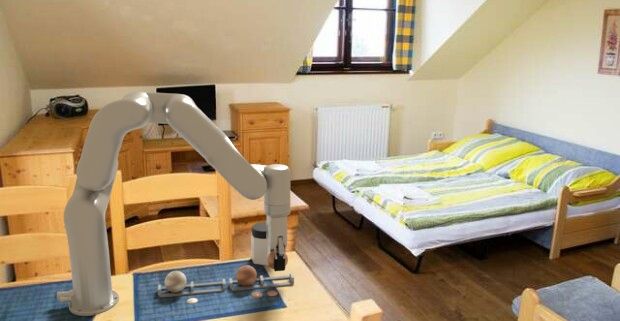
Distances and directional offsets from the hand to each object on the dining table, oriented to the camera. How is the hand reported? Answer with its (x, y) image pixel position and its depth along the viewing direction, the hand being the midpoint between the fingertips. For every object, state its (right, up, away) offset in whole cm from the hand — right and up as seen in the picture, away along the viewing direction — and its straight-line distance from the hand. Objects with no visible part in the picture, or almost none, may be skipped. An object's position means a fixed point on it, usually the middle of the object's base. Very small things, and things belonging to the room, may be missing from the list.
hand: (277, 264), depth 150 cm
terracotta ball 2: (0, -1, 0) cm, 1 cm away
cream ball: (-29, -6, -5) cm, 30 cm away
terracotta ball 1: (-9, -6, -1) cm, 11 cm away
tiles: (-13, -8, -8) cm, 17 cm away
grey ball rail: (-14, -7, -2) cm, 16 cm away
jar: (-5, -2, +16) cm, 17 cm away
